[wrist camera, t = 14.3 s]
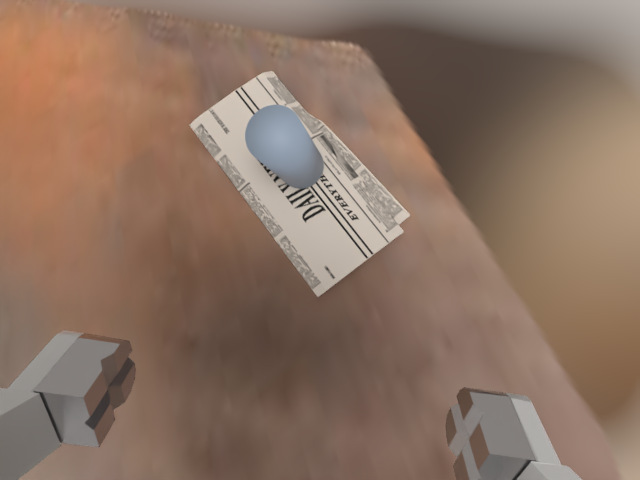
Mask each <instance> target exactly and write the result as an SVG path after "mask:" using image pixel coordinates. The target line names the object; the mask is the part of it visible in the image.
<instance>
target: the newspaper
mask: <svg viewBox="0 0 640 480" xmlns="http://www.w3.org/2000/svg"><path fill="white" fill-rule="evenodd" d="M269 105H283V106H286V107H288V108H290V109H291V110H293V111H294V112H295V113H296V114H297V116H298V117H299V119H300V120H301V122H302V124H303V125H304V127H305V129H306V130H307V132H308V134H309V135H310V137H311V139H312V140H313V142H314V144H315V145H316V147H317V149H318V150H319V152H320V154H321V156H322V158H323V162H324V169H323V173H322V175H321V177H320V179H319V180H318V181H317V182H316V183H315V184H314V185H312V186H310V187H308V188H303V189H298V188H294V187H291V186H289V185H288V184H287V183H285V182H284V181H283V180H282V179H281V178H279V177H278V176H277V175H276V174H275V173H273V172H272V171H271V170H270V169H268V168H267V167H266V166H265V165H264V164H262V163H261V162H260V161H259V160H258V159H256V158H255V157H254V156H253V155H252V154H251V153H250V151H249V150H248V148H247V145H246V141H245V131H246V127H247V124H248V122H249V120H250V119H251V117H252V116H253V115H254V114H255V113H256V112H257V111H258V110H260V109H262V108H263V107H266V106H269ZM190 127H191V128H192V130H193V131H194V132H195V134H196V135H197V136H198V138H199V139H200V140H201V142H202V143H203V144H204V146H205V147H206V148H207V150H208V151H209V152H210V154H211V155H212V156H213V158H214V159H215V160H216V162H217V163H218V164H219V166H220V167H221V168H222V170H223V171H224V172H225V174H226V175H227V176H228V178H229V179H230V180H231V182H232V183H233V185H234V186H235V187H236V189H237V190H238V191H239V193H240V194H241V195H242V197H243V198H244V199H245V201H246V202H247V203H248V205H249V206H250V207H251V209H252V210H253V211H254V213H255V214H256V215H257V217H258V218H259V219H260V221H261V222H262V223H263V225H264V226H265V227H266V229H267V230H268V231H269V233H270V234H271V235H272V237H273V238H274V239H275V241H276V242H277V243H278V245H279V246H280V247H281V249H282V250H283V251H284V253H285V254H286V255H287V257H288V258H289V259H290V261H291V262H292V263H293V265H294V266H295V267H296V269H297V270H298V271H299V273H300V274H301V275H302V277H303V278H304V279H305V281H306V282H307V284H308V285H309V286H310V288H311V289H312V290H313V292H314V293H315V294H316V296H317V297H319V296H320V295H322V294H323V293H324V292H325V291H327V290H328V289H329V288H331V287H332V286H333V285H335V284H336V283H337V282H338V281H340V280H341V279H342V278H344V277H345V276H346V275H348V274H349V273H350V272H352V271H353V270H354V269H355V268H357V267H358V266H359V265H361V264H362V263H363V262H365V261H366V260H367V259H369V258H370V257H371V256H372V255H374V254H375V253H376V252H378V251H379V250H380V249H382V248H383V247H384V246H386V245H387V244H388V243H390V242H391V241H392V240H394V239H395V238H396V237H398V236H399V235H401V234H402V233H403V232H404V231H403V230H402V229H401V227H400V226H399V225H400V224H401V223H402V222H403V221H404V220H405V219H406V218H408V217H409V216H410V214H409V213H408V212H407V211H406V210H405V209H404V208H403V206H402V205H401V204H400V203H399V202H398V201H397V200H396V199H395V198H394V197H393V196H392V195H391V194H390V193H389V191H388V190H387V189H386V188H385V187H384V186H383V185H382V184H381V183H380V182H379V181H378V180H377V179H376V178H375V176H374V175H373V174H372V173H371V172H370V171H369V170H368V169H367V168H366V167H365V166H364V165H363V164H362V163H361V162H360V160H359V159H358V158H357V157H356V156H355V155H354V154H353V153H352V152H351V151H350V150H349V149H348V148H347V147H346V145H345V144H344V143H343V142H342V141H341V140H340V139H339V138H338V137H337V136H336V135H335V134H334V133H333V132H332V131H331V130H330V129H329V128H328V127H327V126H326V125H325V124H324V123H323V122H322V121H320V120H318V119H316V118H315V117H313V116H312V115H310V114H309V113H307V112H306V111H305V110H304V109H303V107H302V106H301V105H300V104H299V103H298V101H297V100H296V99H295V98H294V97H293V95H292V94H291V93H290V92H289V90H288V89H287V88H286V87H285V86H284V84H283V83H282V82H281V81H280V80H279V78H278V77H277V76H276V75H275V73H274V72H273V71H269V72H263V73H261V74H260V75H258V76H257V77H255V78H254V79H252V80H250V81H249V82H247V83H246V84H244V85H243V86H241V87H240V88H238V89H237V90H235V91H233V92H232V93H231V94H229V95H228V96H226V97H225V98H224V99H222V100H221V101H219V102H218V103H217V104H215V105H214V106H213V107H211V108H210V109H208V110H207V111H206V112H204V113H203V114H201V115H200V116H199V117H197V118H196V119H195V120H194V121H193V122H192V123H191V124H190Z"/></svg>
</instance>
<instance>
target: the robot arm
mask: <svg viewBox="0 0 640 480" xmlns="http://www.w3.org/2000/svg"><path fill="white" fill-rule="evenodd" d="M131 351H132V348H131V344H130V341H127V340H122V339H116V338H110V337H104V336H98V335H92V334H86V333H79V332H73V331H66V330H63V331H61V332H60V333H58V334H56V335H55V336H54V337H53V338H52V339H51V341H50V342H49V343H48V344H47V345H46V346H45V347H44V348H43V349H42V351H41V352H40V353H39V354H38V355H37V356H36V357H35V358H34V359H33V360H32V362H31V363H30V364H29V365H28V366H27V367H26V368H25V369H24V370H23V372H22V373H21V374H20V375H19V376H18V377H17V378H16V379H15V380H14V382H13V383H12V384H11V385H10V386H9V387H8V388H0V480H18V479H19V478H21V477H22V476H23V475H24V474H26V473H27V472H28V471H29V470H31V469H32V468H33V467H34V466H36V465H37V464H38V463H40V462H41V461H42V460H43V459H45V458H46V457H47V456H48V455H50V454H51V453H52V452H53V451H55V450H56V449H57V448H59V447H60V446H61V444H60V443H64V444H74V445H83V446H92V447H100V445H101V443H102V442H103V440H104V438H105V436H106V435H107V433H108V431H109V429H110V428H111V426H112V424H113V422H114V421H115V416H114V409H116V408H117V407H119V406H120V405H121V404H123V403H124V402H125V401H126V399H127V397H128V396H129V394H130V392H131V389H132V386H133V383H134V380H135V372H136V369H135V363H134V362H133V361H132V360H131V359H130V358H129V357H128V356H129V355H130V353H131ZM457 400H458V404H456V405H454V406H452V407H451V408H450V410H449V412H448V414H447V418H446V438H447V442H448V447H449V448H450V449H451V451H452V452H453V453H454V454H455V455H456V457H457V459H456V461H455V463H454V465H453V468H454V472H455V477H456V480H582V479H581V478H580V477H579V476H578V475H577V474H576V473H575V472H574V471H573V470H572V469H571V468H569V467H568V466H564V465H561V463H560V461H559V459H558V456H557V454H556V452H555V450H554V448H553V446H552V444H551V442H550V440H549V438H548V436H547V434H546V431H545V429H544V427H543V425H542V423H541V421H540V419H539V417H538V415H537V413H536V411H535V408H534V406H533V404H532V402H531V400H530V399H529V398H528V397H527V396H523V395H516V394H509V393H503V392H497V391H489V390H482V389H474V388H466V387H464V388H462V389H461V390H460V391H459V393H458V395H457Z"/></svg>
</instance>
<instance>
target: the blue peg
mask: <svg viewBox="0 0 640 480" xmlns="http://www.w3.org/2000/svg"><path fill="white" fill-rule="evenodd" d="M245 141H246V145H247V148H248V150H249V151H250V153H251V154H252V155H253V156H254V157H255V158H256V159H258V160H259V161H260V162H261V163H262V164H264V165H265V166H266V167H267V168H268V169H270V170H271V171H272V172H273V173H275V174H276V175H277V176H278V177H279V178H281V179H282V180H283V181H284V182H285V183H287V184H288V185H289V186H291V187H294V188H298V189H303V188H308V187H310V186H312V185H314V184H315V183H316V182H317V181H318V180H319V179H320V177H321V175H322V173H323V169H324V162H323V158H322V156H321V154H320V152H319V150H318V149H317V147H316V145H315V144H314V142H313V140H312V139H311V137H310V135H309V134H308V132H307V130H306V129H305V127H304V125H303V124H302V122H301V120H300V119H299V117H298V116H297V114H296V113H295V112H294V111H293V110H291V109H290V108H288V107H286V106H283V105H269V106H266V107H263V108H262V109H260V110H258V111H257V112H256V113H255V114H254V115H253V116H252V117H251V119H250V120H249V122H248V124H247V127H246V131H245Z"/></svg>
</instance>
